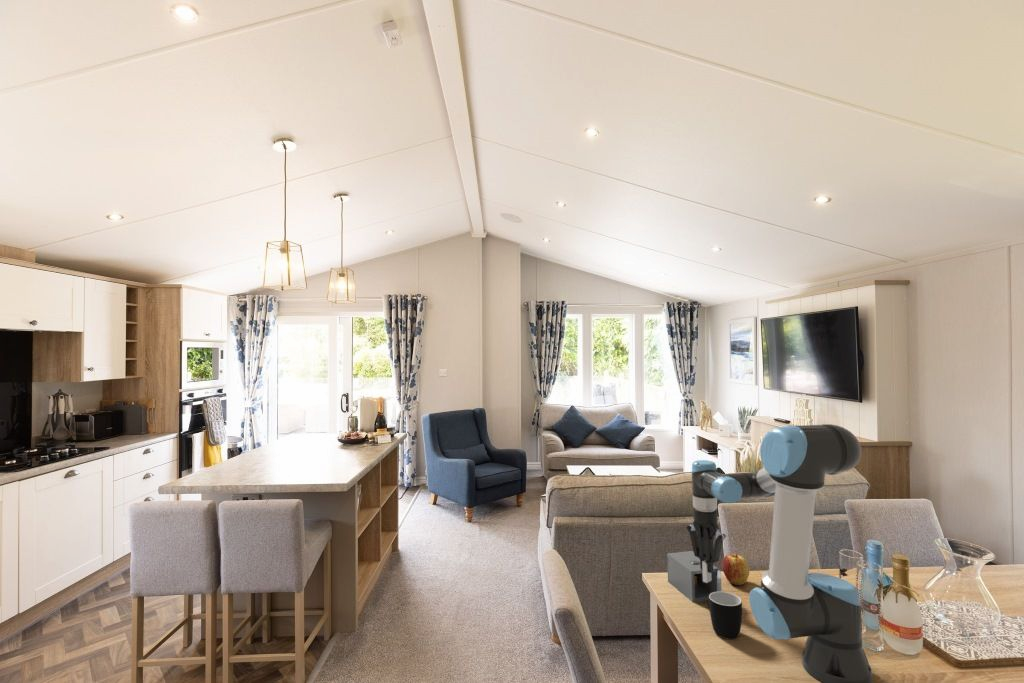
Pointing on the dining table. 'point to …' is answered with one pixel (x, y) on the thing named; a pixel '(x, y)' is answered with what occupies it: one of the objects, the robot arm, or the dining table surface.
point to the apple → (735, 569)
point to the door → (719, 581)
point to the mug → (725, 614)
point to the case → (690, 576)
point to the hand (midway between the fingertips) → (707, 580)
